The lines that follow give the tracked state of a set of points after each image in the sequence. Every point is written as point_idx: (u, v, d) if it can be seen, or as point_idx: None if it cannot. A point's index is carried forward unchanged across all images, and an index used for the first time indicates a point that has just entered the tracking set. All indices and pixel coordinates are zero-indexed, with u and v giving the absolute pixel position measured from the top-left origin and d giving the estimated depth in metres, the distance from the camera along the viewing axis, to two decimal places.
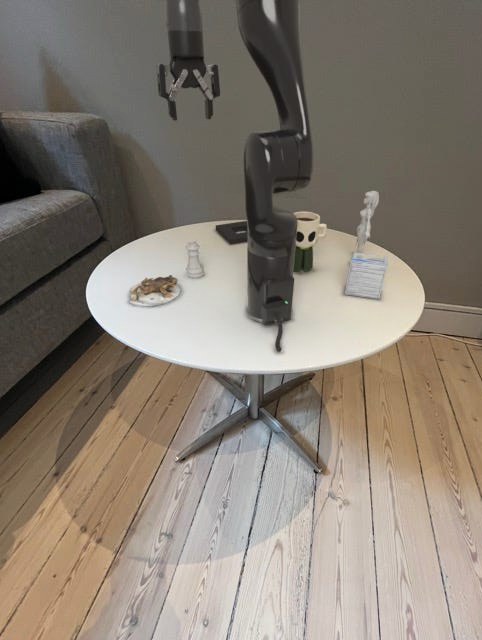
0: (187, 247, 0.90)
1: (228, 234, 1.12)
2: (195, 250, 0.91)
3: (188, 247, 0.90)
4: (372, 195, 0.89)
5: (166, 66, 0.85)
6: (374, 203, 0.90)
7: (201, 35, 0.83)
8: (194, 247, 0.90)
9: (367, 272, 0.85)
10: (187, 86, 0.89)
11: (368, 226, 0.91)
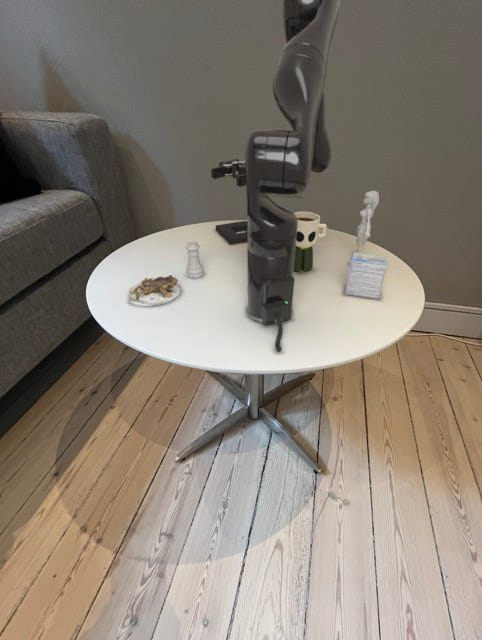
0: (187, 247, 0.90)
1: (228, 234, 1.12)
2: (195, 250, 0.91)
3: (188, 247, 0.90)
4: (372, 195, 0.89)
5: None
6: (374, 203, 0.90)
7: None
8: (194, 247, 0.90)
9: (368, 272, 0.85)
10: (242, 167, 0.92)
11: (368, 226, 0.91)
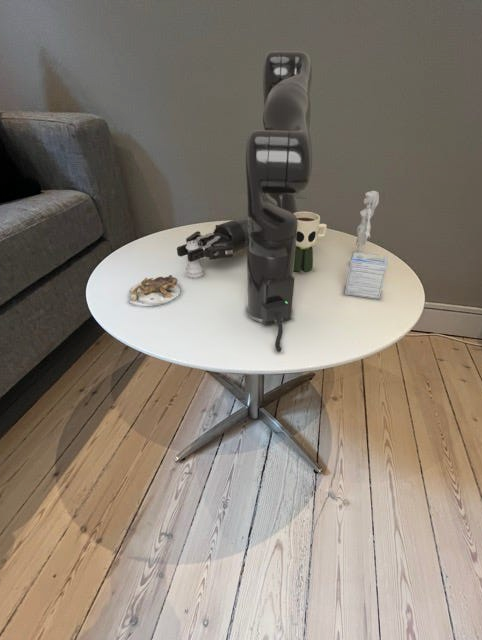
0: (187, 247, 0.90)
1: None
2: None
3: (188, 247, 0.90)
4: (372, 195, 0.89)
5: (202, 235, 0.98)
6: (374, 203, 0.90)
7: (241, 230, 0.96)
8: (194, 247, 0.90)
9: (368, 272, 0.85)
10: (205, 241, 0.94)
11: (368, 226, 0.91)
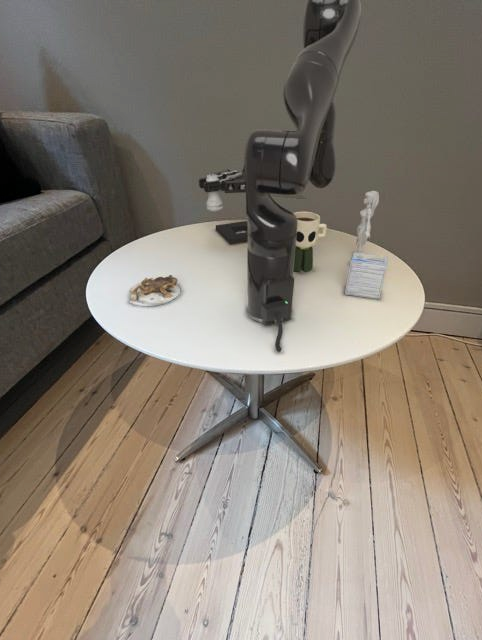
0: (206, 179, 0.97)
1: (228, 234, 1.12)
2: None
3: (207, 179, 0.96)
4: (372, 195, 0.89)
5: None
6: (374, 203, 0.90)
7: None
8: (212, 179, 0.96)
9: (368, 272, 0.85)
10: None
11: (368, 226, 0.91)
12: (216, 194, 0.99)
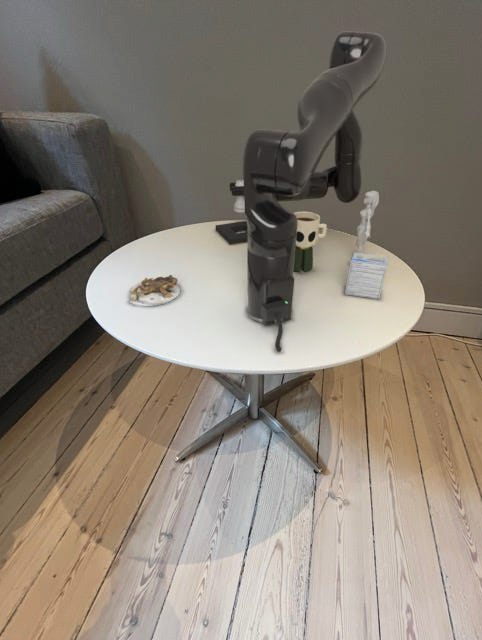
0: None
1: (228, 234, 1.12)
2: None
3: (236, 183, 1.06)
4: (372, 195, 0.89)
5: None
6: (374, 203, 0.90)
7: None
8: (240, 184, 1.06)
9: (368, 272, 0.85)
10: None
11: (368, 226, 0.91)
12: (243, 198, 1.08)
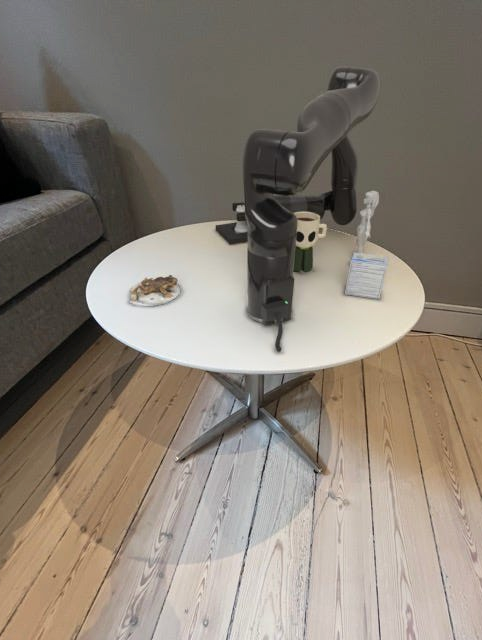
0: None
1: (228, 234, 1.12)
2: None
3: None
4: (372, 195, 0.89)
5: None
6: (374, 203, 0.90)
7: (288, 204, 1.10)
8: (240, 209, 1.10)
9: (368, 272, 0.85)
10: None
11: (368, 226, 0.91)
12: (243, 222, 1.13)
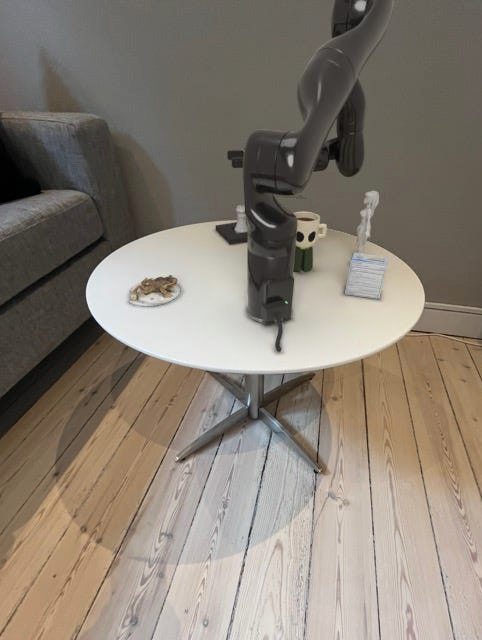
0: None
1: (228, 234, 1.12)
2: (241, 212, 1.10)
3: None
4: (372, 195, 0.89)
5: None
6: (374, 203, 0.90)
7: None
8: (240, 209, 1.10)
9: (368, 272, 0.85)
10: None
11: (368, 226, 0.91)
12: (243, 222, 1.13)
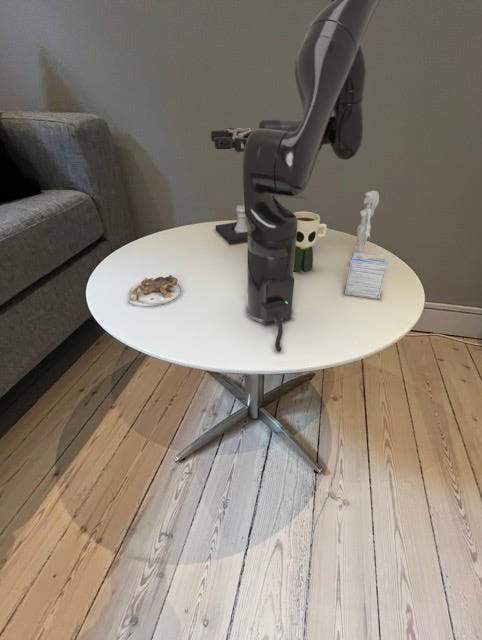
0: None
1: (228, 234, 1.12)
2: (241, 212, 1.10)
3: None
4: (372, 195, 0.89)
5: None
6: (374, 203, 0.90)
7: (279, 129, 0.90)
8: (240, 209, 1.10)
9: (368, 272, 0.85)
10: (239, 133, 0.92)
11: (368, 226, 0.91)
12: (243, 222, 1.13)
